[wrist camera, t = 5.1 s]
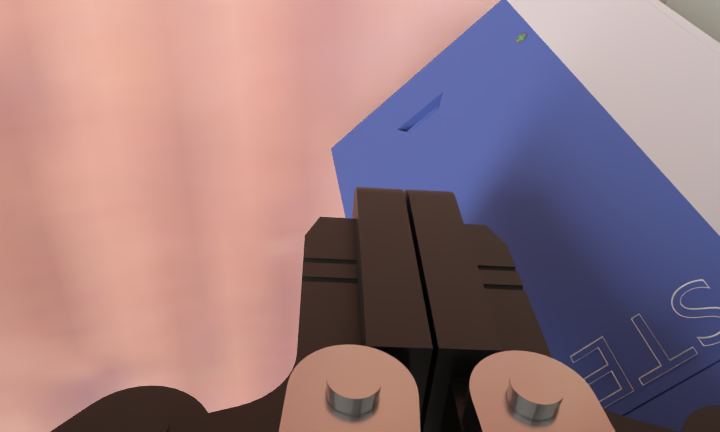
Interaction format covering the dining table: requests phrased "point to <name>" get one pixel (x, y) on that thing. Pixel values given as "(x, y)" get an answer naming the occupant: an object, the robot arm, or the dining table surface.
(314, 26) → the dining table surface
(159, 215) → the dining table surface
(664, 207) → the walkman
